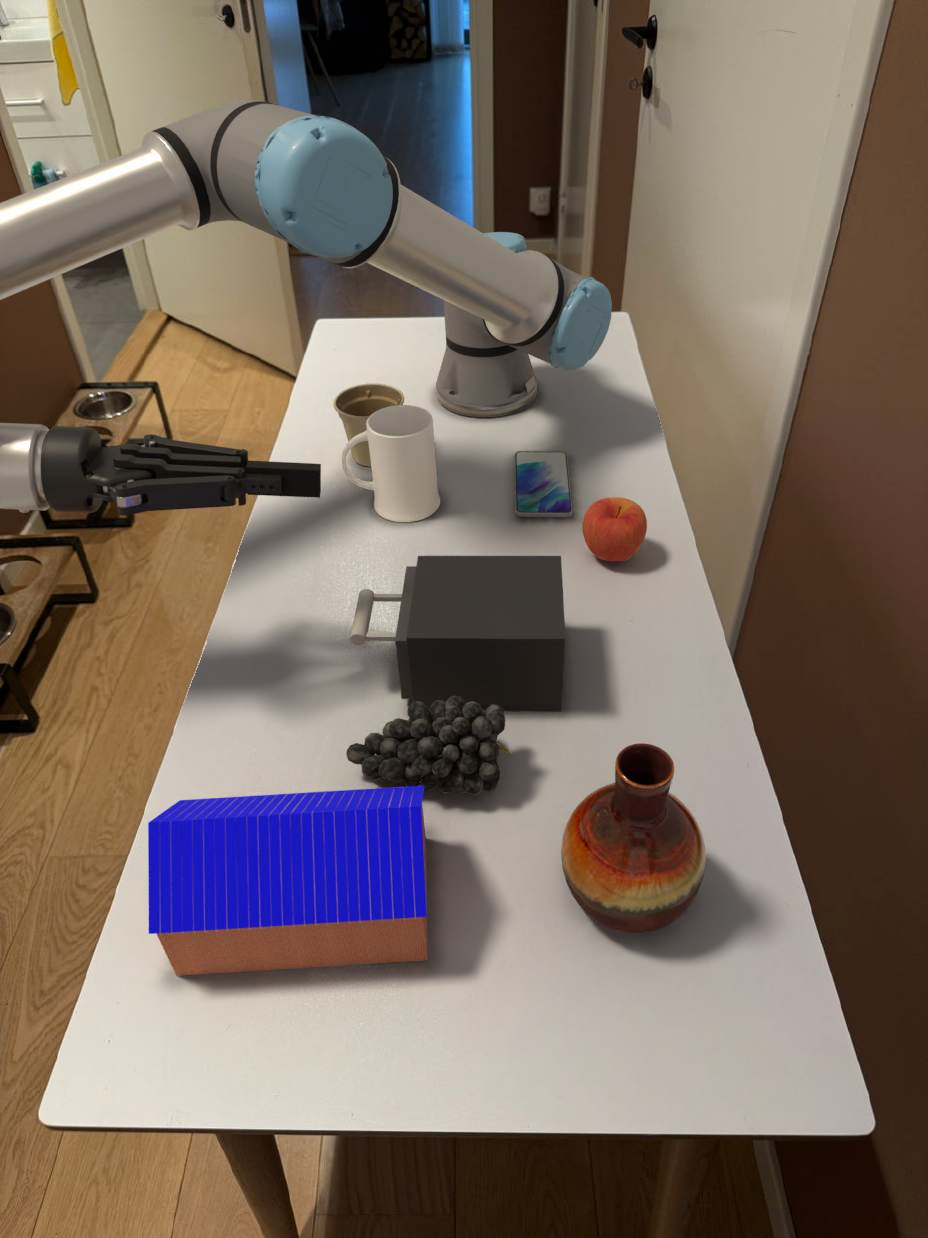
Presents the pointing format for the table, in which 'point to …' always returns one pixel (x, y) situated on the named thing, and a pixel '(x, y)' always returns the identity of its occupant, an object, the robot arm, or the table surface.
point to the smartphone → (542, 484)
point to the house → (290, 880)
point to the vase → (634, 846)
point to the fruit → (437, 747)
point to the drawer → (361, 633)
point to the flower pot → (363, 412)
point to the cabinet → (488, 631)
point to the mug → (400, 463)
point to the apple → (614, 528)
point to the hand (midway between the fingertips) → (320, 480)
